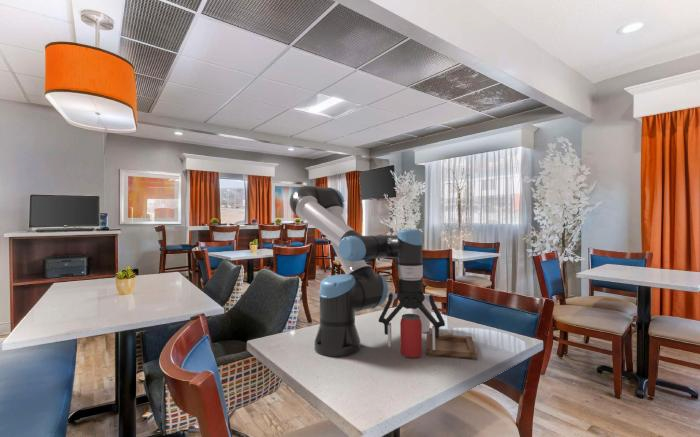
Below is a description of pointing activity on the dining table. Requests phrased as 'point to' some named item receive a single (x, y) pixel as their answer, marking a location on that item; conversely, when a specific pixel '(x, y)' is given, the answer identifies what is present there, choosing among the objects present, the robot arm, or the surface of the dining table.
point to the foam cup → (423, 318)
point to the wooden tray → (451, 346)
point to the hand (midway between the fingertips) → (411, 346)
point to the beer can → (411, 335)
